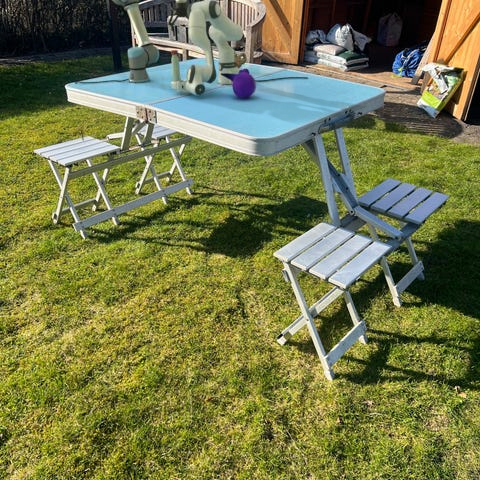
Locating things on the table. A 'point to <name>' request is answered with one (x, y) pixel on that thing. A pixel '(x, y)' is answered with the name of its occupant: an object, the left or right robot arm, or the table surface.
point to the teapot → (237, 59)
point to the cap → (174, 52)
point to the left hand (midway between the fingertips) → (183, 36)
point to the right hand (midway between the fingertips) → (182, 81)
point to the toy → (242, 83)
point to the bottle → (175, 68)
